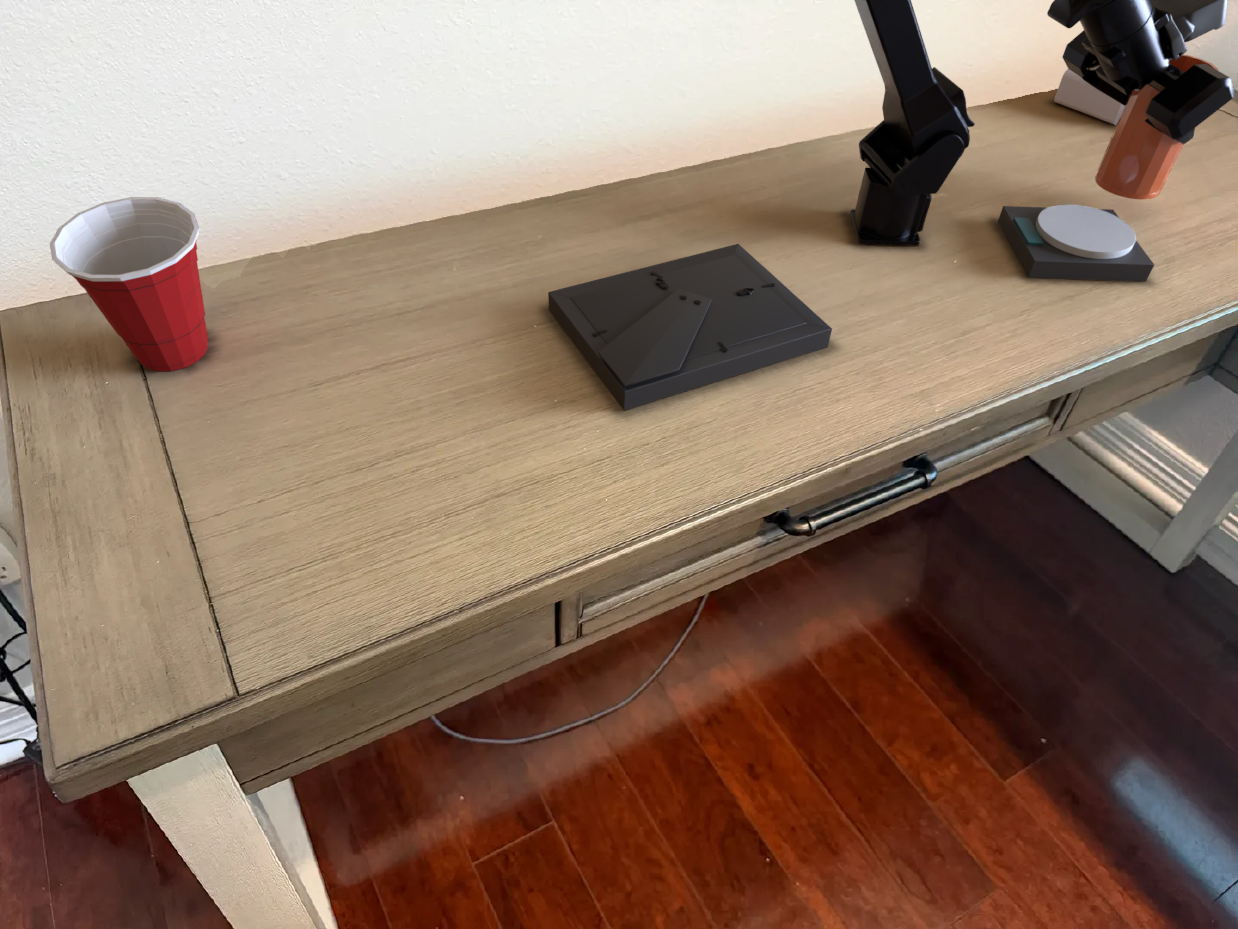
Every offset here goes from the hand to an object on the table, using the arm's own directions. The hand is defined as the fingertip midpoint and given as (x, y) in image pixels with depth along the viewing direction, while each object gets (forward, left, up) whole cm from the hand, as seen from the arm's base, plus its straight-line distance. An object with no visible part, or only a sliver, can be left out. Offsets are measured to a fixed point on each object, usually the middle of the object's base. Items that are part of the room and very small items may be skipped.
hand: (1165, 125), depth 95 cm
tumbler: (-1, 0, -7) cm, 7 cm away
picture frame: (-51, -26, -9) cm, 58 cm away
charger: (+9, +25, -9) cm, 28 cm away
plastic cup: (-96, -32, -9) cm, 102 cm away
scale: (-10, -10, -9) cm, 17 cm away
